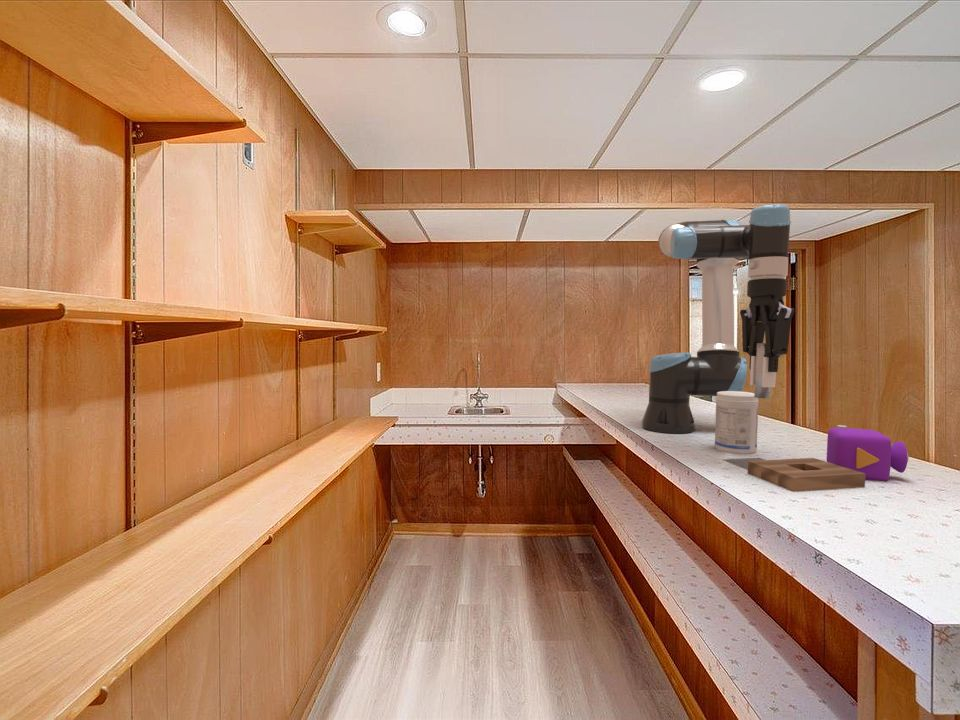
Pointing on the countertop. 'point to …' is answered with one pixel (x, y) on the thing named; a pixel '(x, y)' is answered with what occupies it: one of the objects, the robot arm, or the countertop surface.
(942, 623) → the countertop surface
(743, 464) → the mat
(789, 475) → the socket block
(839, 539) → the countertop surface
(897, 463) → the toy camera
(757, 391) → the peg
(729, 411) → the supplement tub
